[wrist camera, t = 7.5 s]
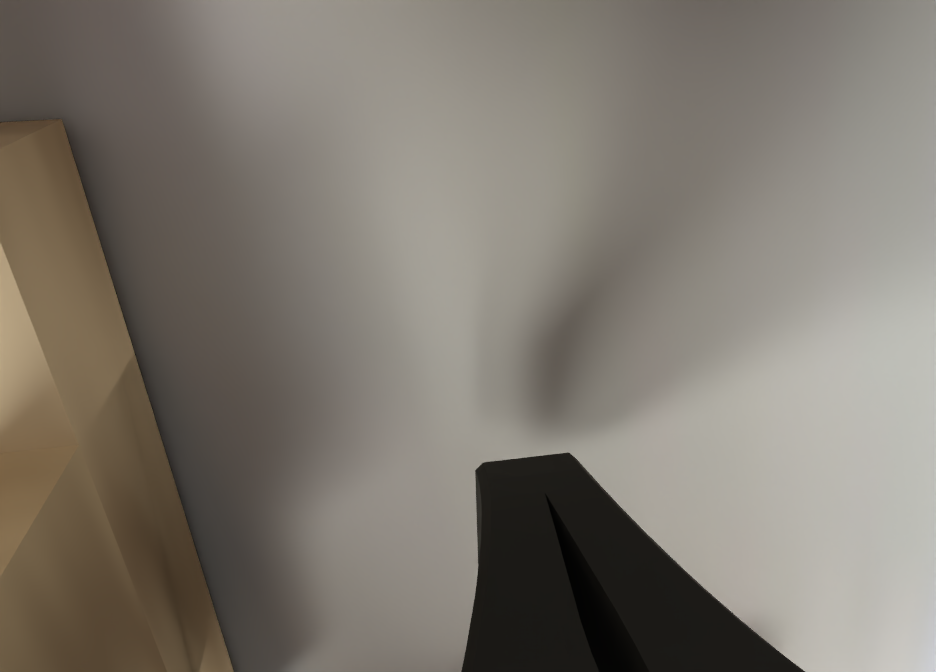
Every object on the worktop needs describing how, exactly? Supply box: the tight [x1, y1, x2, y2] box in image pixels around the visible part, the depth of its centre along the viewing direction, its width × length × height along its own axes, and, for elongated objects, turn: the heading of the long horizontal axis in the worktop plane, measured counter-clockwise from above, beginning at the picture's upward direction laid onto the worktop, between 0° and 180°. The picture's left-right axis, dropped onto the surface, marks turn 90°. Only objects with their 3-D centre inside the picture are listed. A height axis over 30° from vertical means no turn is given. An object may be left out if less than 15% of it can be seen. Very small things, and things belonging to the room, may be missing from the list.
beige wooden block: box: [0, 119, 234, 672], centre depth 8 cm, size 11×3×4 cm, turn 2°
